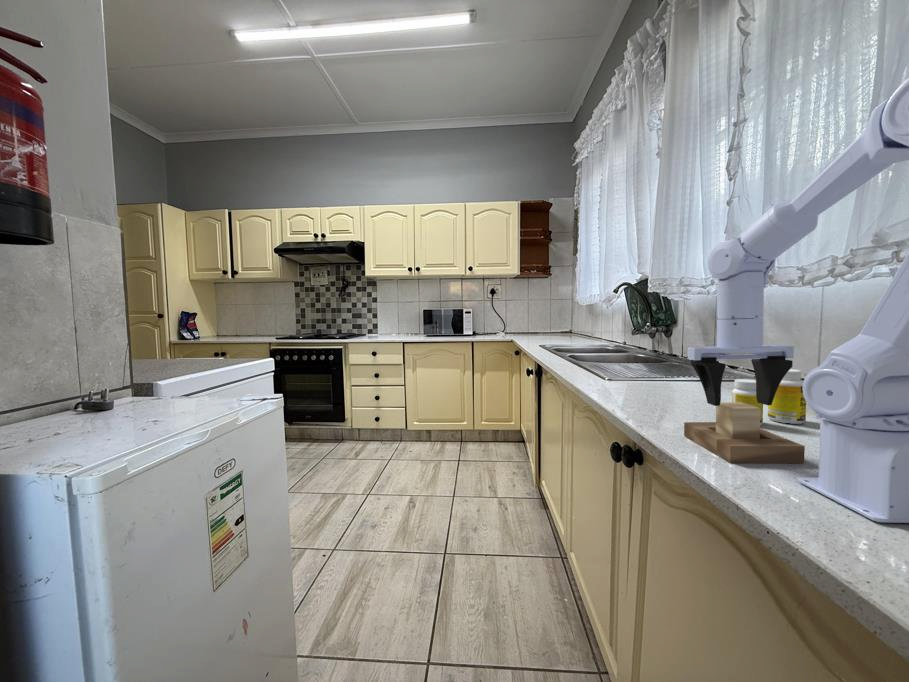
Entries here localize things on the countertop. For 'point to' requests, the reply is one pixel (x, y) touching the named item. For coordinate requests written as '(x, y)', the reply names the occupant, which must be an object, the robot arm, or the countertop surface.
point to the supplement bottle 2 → (789, 400)
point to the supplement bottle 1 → (747, 394)
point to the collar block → (745, 445)
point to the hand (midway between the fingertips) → (738, 404)
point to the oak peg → (738, 420)
